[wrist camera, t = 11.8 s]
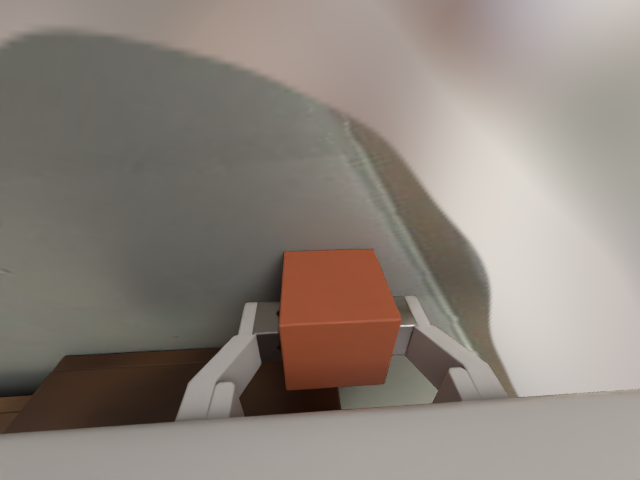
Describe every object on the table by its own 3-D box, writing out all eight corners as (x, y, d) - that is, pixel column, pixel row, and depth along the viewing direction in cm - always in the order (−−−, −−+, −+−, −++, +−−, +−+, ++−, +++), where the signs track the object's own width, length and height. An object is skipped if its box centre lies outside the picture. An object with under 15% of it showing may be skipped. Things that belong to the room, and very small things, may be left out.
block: (284, 250, 12) (278, 325, 8) (373, 248, 12) (402, 319, 9) (288, 312, 14) (286, 391, 10) (364, 309, 14) (384, 385, 11)
